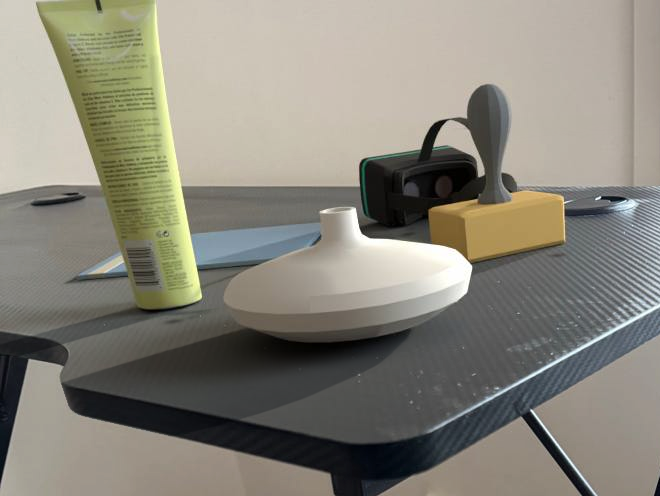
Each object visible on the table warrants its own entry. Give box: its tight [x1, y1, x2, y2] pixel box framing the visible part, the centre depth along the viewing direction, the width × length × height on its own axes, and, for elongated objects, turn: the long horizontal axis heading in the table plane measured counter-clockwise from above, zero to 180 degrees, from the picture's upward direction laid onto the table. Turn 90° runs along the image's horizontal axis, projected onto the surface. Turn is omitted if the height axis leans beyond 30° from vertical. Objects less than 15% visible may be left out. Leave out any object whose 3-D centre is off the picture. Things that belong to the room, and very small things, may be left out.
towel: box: [76, 221, 322, 281], centre depth 90 cm, size 20×18×1 cm
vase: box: [222, 206, 473, 343], centre depth 58 cm, size 16×16×7 cm
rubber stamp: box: [428, 83, 566, 264], centre depth 74 cm, size 10×6×12 cm, turn 120°
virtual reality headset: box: [358, 116, 518, 227], centre depth 89 cm, size 11×17×10 cm, turn 31°
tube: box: [35, 0, 203, 310], centre depth 66 cm, size 6×5×20 cm
